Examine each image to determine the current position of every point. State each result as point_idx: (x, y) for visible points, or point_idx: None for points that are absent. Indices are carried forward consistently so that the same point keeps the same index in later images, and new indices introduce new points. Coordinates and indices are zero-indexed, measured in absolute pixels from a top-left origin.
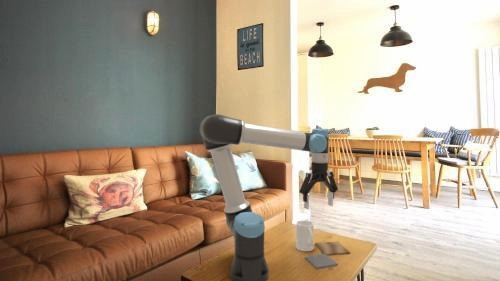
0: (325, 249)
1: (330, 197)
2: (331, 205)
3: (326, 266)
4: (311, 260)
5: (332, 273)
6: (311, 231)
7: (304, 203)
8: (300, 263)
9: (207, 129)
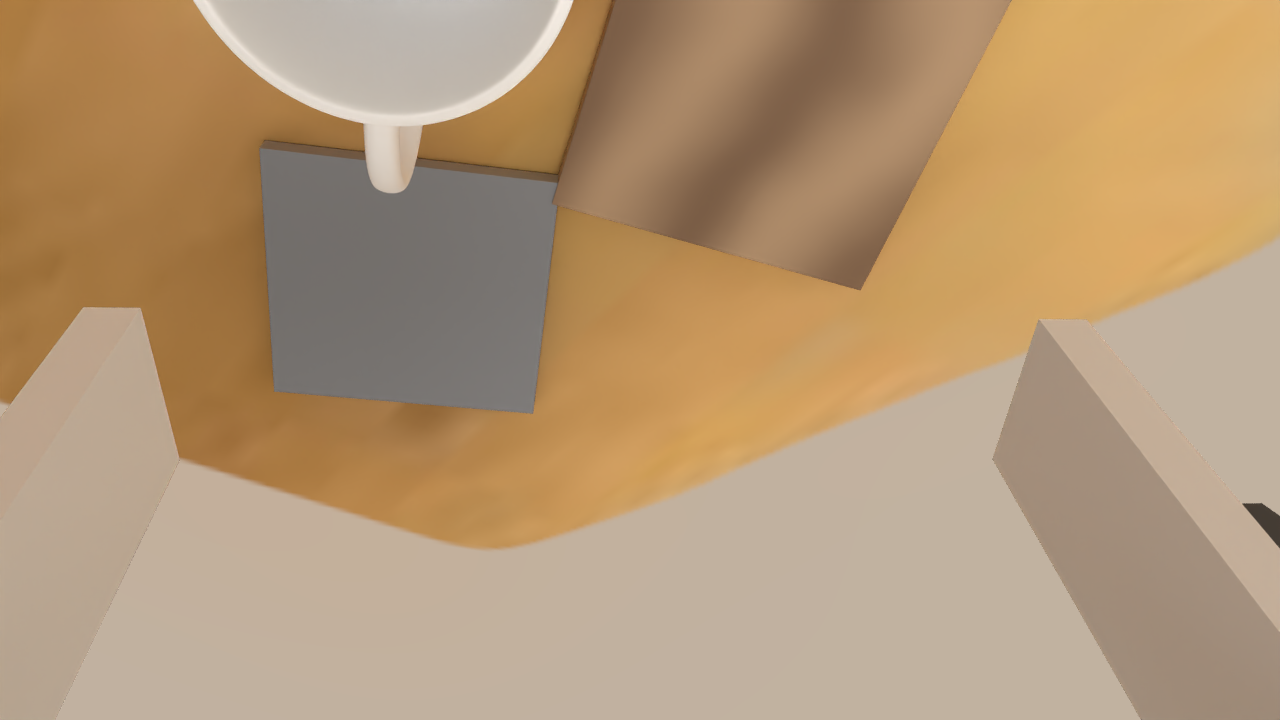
0: (650, 107)
1: (1125, 606)
2: (1000, 472)
3: (394, 397)
4: (295, 256)
5: (382, 482)
6: (390, 173)
7: (21, 409)
8: (152, 219)
9: None
